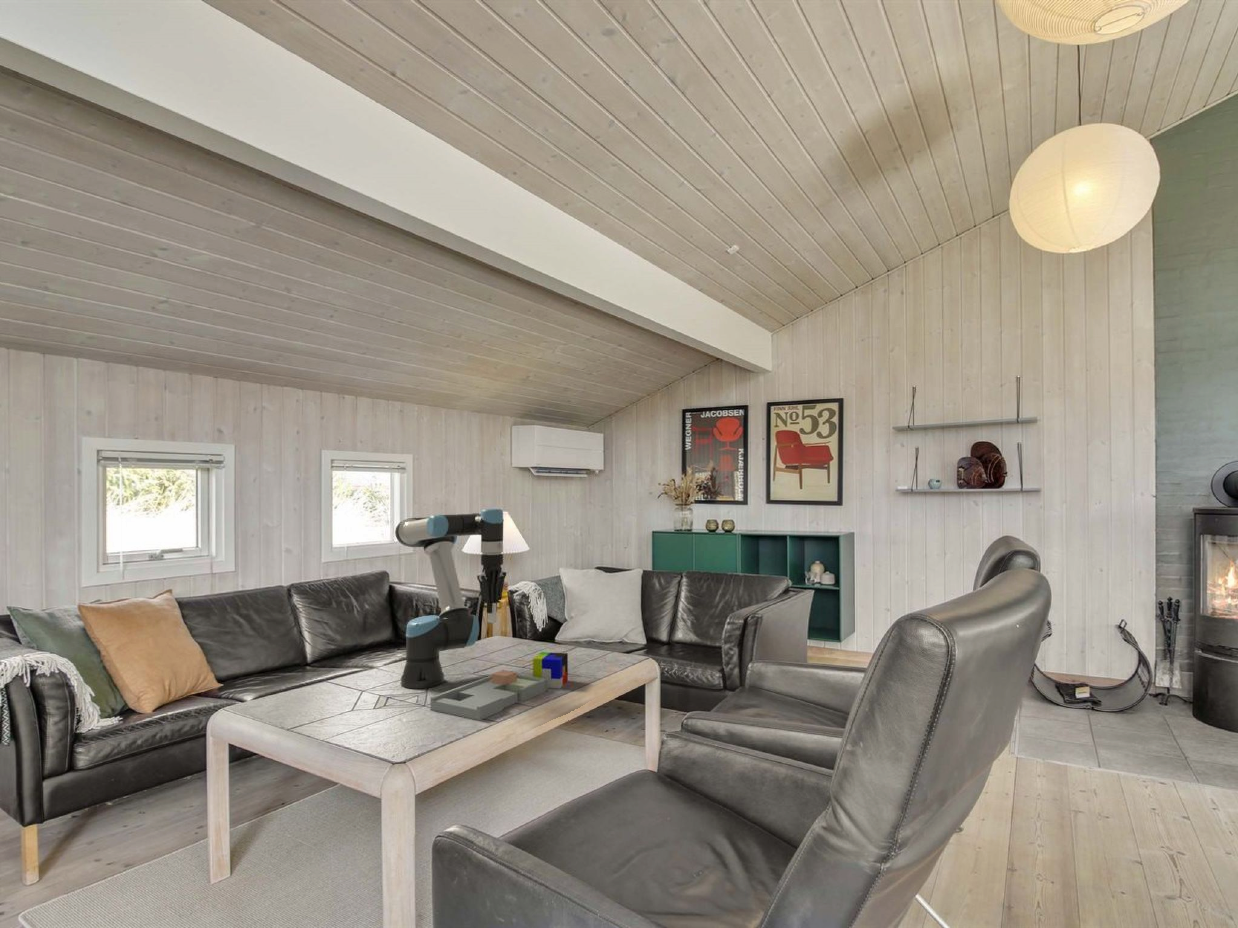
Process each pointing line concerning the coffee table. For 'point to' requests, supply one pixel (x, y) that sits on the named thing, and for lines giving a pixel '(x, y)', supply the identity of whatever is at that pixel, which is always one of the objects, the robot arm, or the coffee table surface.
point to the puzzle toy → (551, 668)
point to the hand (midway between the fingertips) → (491, 622)
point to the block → (504, 677)
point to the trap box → (487, 696)
